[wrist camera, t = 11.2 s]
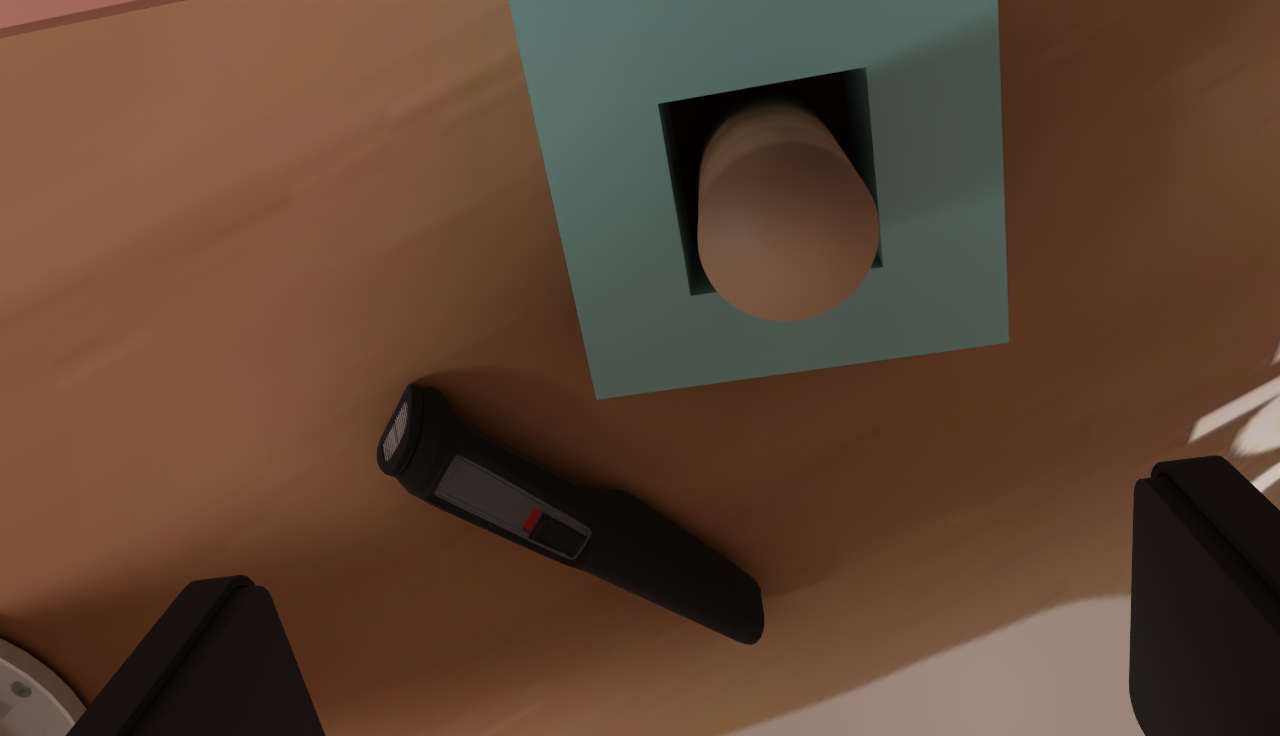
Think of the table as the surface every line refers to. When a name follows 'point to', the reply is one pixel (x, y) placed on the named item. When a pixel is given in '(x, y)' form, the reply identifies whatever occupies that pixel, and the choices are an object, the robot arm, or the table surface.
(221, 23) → the table surface
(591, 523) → the electric trimmer
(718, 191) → the walnut peg
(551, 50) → the socket stand
